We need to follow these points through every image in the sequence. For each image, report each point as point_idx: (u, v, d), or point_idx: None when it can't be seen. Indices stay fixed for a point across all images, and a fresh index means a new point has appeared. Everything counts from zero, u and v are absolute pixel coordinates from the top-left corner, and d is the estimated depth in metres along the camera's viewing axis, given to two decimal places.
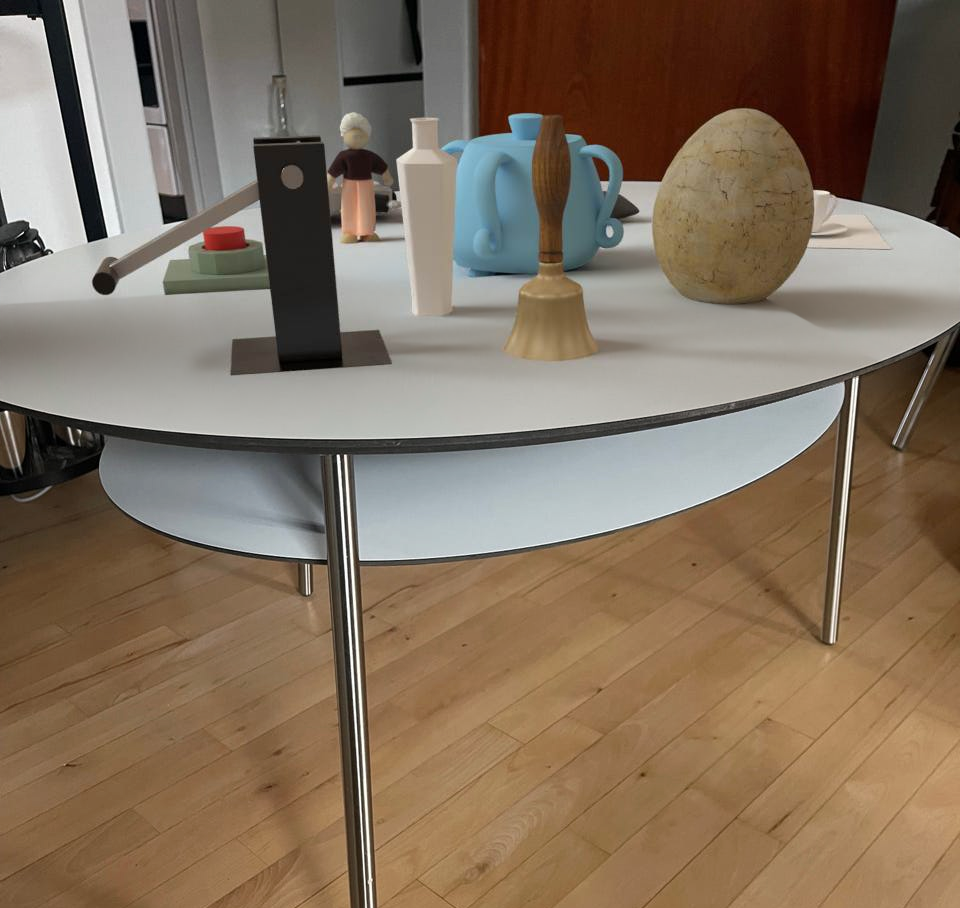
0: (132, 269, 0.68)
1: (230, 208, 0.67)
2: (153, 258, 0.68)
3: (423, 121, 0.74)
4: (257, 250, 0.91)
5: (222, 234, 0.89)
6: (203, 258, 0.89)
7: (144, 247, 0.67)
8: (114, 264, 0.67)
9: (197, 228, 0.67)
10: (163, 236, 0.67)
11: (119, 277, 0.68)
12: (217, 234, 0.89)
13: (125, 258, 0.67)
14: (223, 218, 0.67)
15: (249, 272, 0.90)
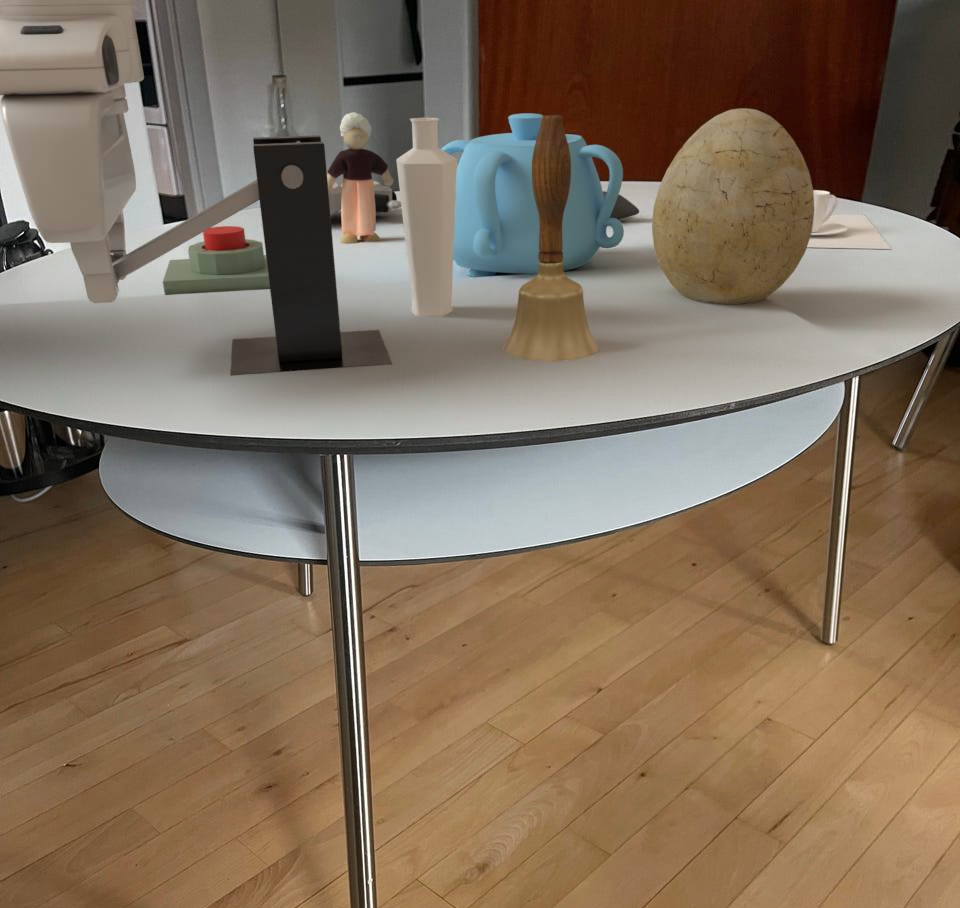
0: (132, 269, 0.68)
1: (230, 208, 0.67)
2: (153, 258, 0.68)
3: (423, 121, 0.74)
4: (257, 250, 0.91)
5: (222, 234, 0.89)
6: (203, 258, 0.89)
7: (144, 247, 0.67)
8: (114, 264, 0.67)
9: (197, 228, 0.67)
10: (163, 236, 0.67)
11: (119, 277, 0.68)
12: (217, 234, 0.89)
13: (125, 258, 0.67)
14: (223, 218, 0.67)
15: (249, 272, 0.90)
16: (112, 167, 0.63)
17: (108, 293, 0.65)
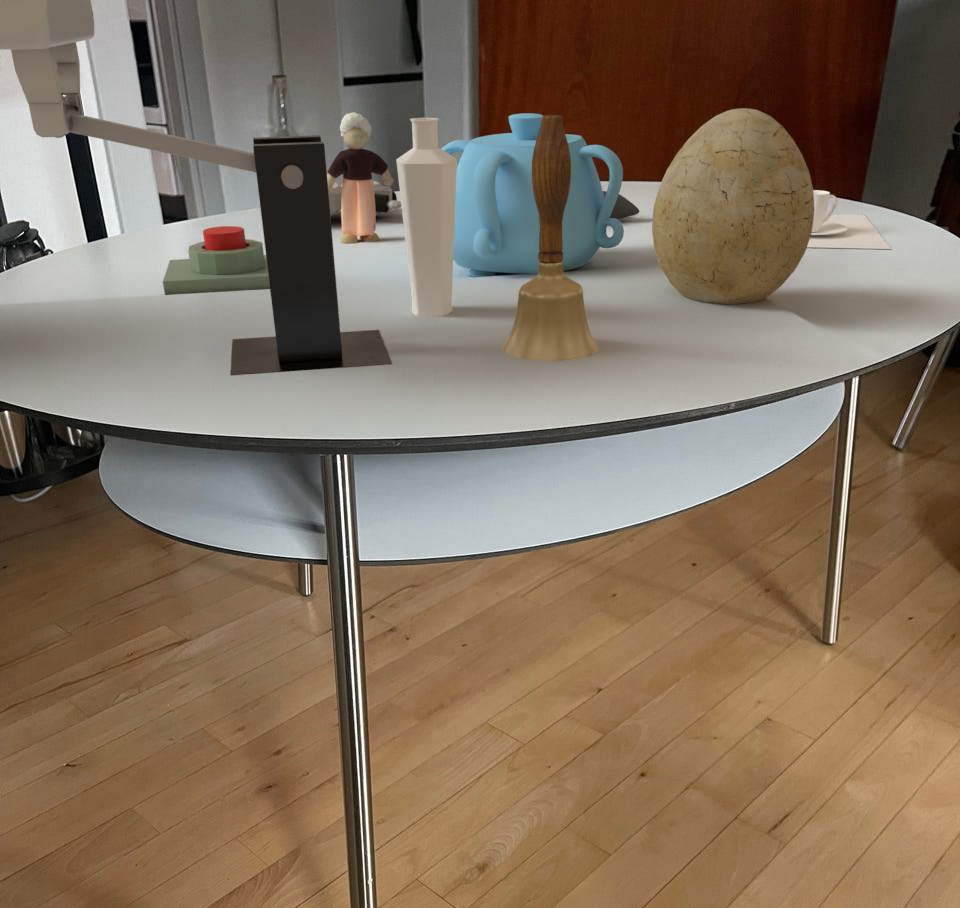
0: (90, 133, 0.63)
1: (217, 157, 0.65)
2: (116, 140, 0.64)
3: (423, 121, 0.74)
4: (257, 250, 0.91)
5: (222, 234, 0.89)
6: (203, 258, 0.89)
7: (115, 125, 0.63)
8: (76, 116, 0.63)
9: (176, 149, 0.65)
10: (140, 131, 0.64)
11: (72, 130, 0.63)
12: (217, 234, 0.89)
13: (90, 120, 0.63)
14: (205, 160, 0.65)
15: (249, 272, 0.90)
16: None
17: (56, 126, 0.60)
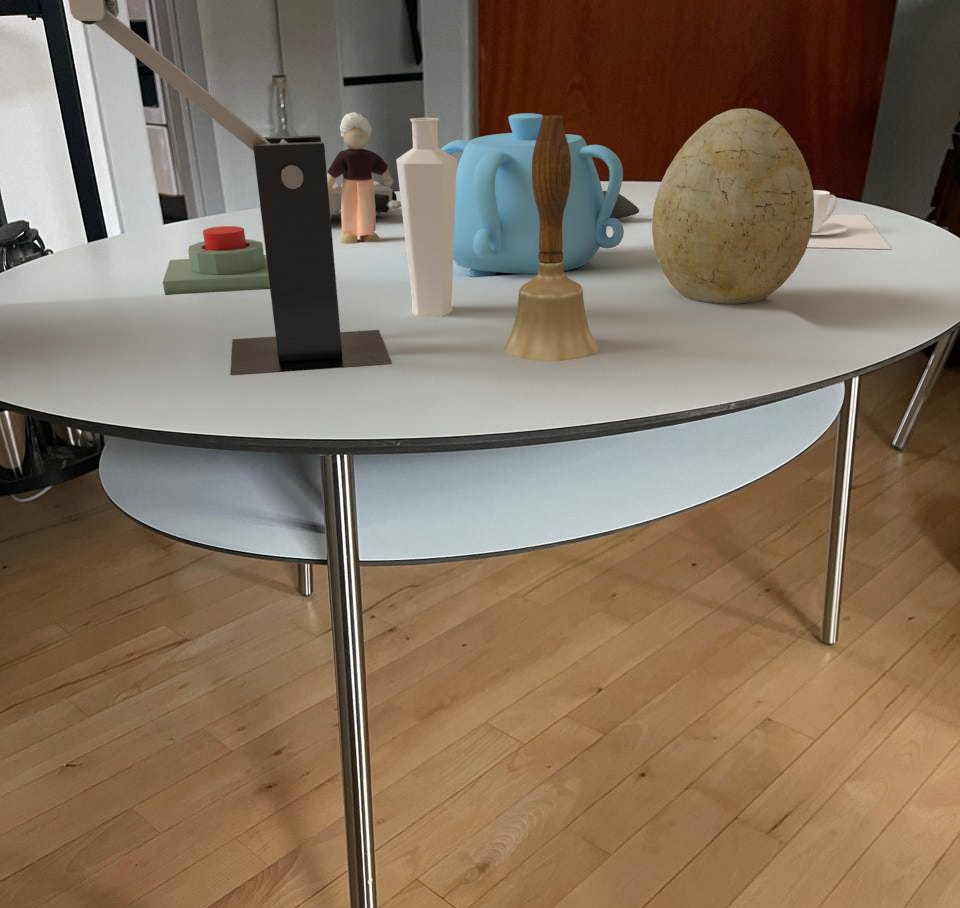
0: (114, 36, 0.61)
1: (228, 123, 0.64)
2: (138, 56, 0.62)
3: (423, 121, 0.74)
4: (257, 250, 0.91)
5: (222, 234, 0.89)
6: (203, 258, 0.89)
7: (143, 43, 0.61)
8: (108, 14, 0.60)
9: (192, 95, 0.63)
10: (165, 60, 0.62)
11: (98, 24, 0.60)
12: (217, 234, 0.89)
13: (121, 25, 0.61)
14: (215, 119, 0.64)
15: (249, 272, 0.90)
16: None
17: (94, 9, 0.57)
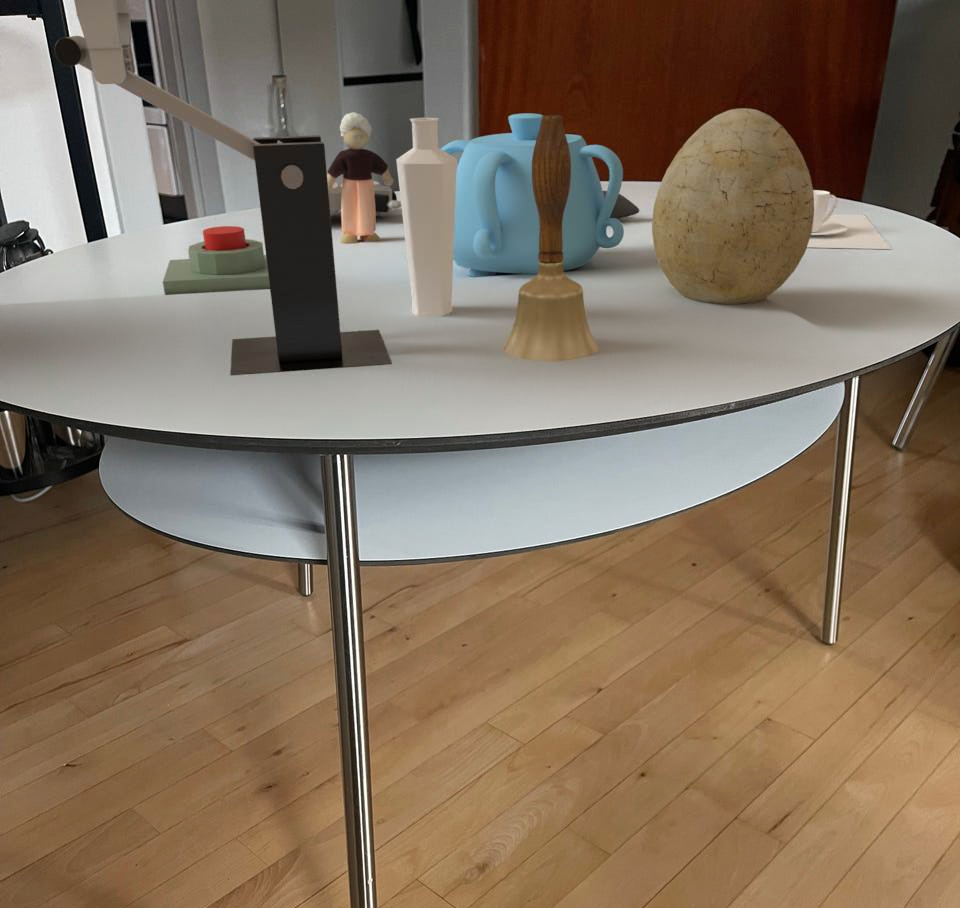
0: None
1: (222, 135, 0.65)
2: (125, 87, 0.62)
3: (423, 121, 0.74)
4: (257, 250, 0.91)
5: (222, 234, 0.89)
6: (203, 258, 0.89)
7: (128, 73, 0.62)
8: None
9: (183, 115, 0.64)
10: (151, 86, 0.63)
11: (82, 63, 0.61)
12: (217, 234, 0.89)
13: None
14: (209, 134, 0.64)
15: (249, 272, 0.90)
16: None
17: (116, 73, 0.60)
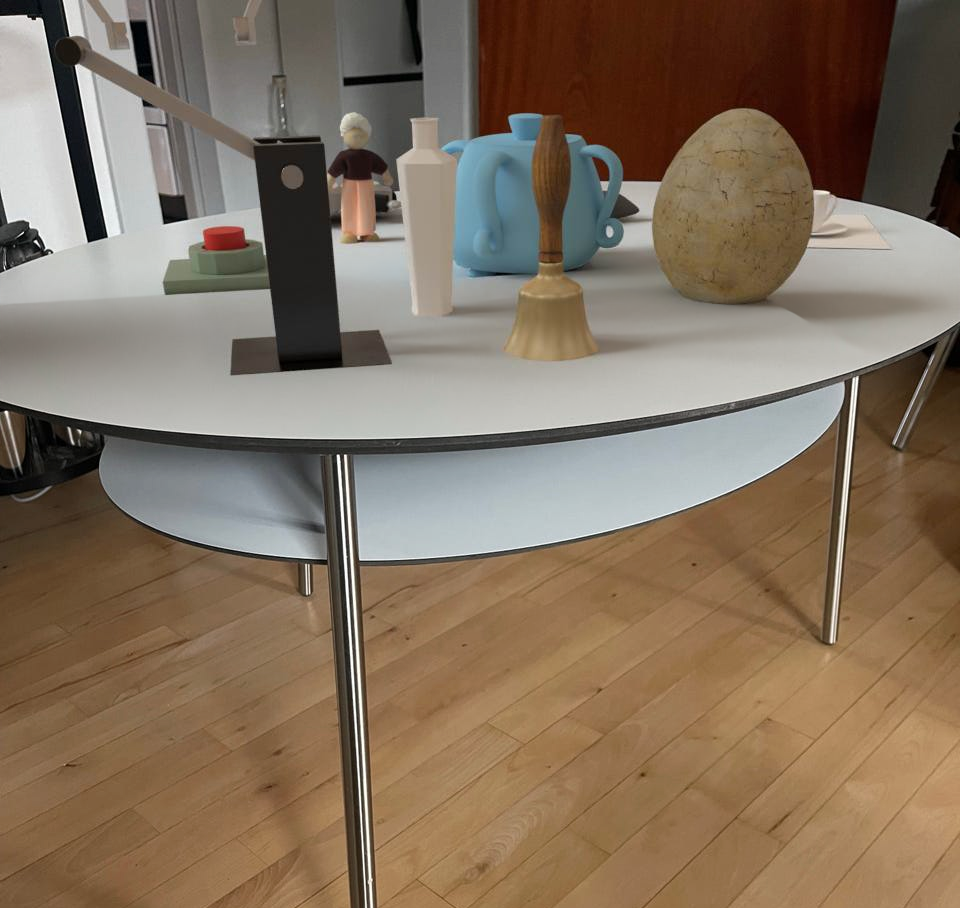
0: (99, 72, 0.62)
1: (222, 135, 0.65)
2: (125, 87, 0.62)
3: (423, 121, 0.74)
4: (257, 250, 0.91)
5: (222, 234, 0.89)
6: (203, 258, 0.89)
7: (128, 73, 0.62)
8: (90, 51, 0.61)
9: (183, 115, 0.64)
10: (151, 86, 0.63)
11: (82, 63, 0.61)
12: (217, 234, 0.89)
13: (104, 59, 0.61)
14: (209, 134, 0.64)
15: (249, 272, 0.90)
16: None
17: (108, 41, 0.76)
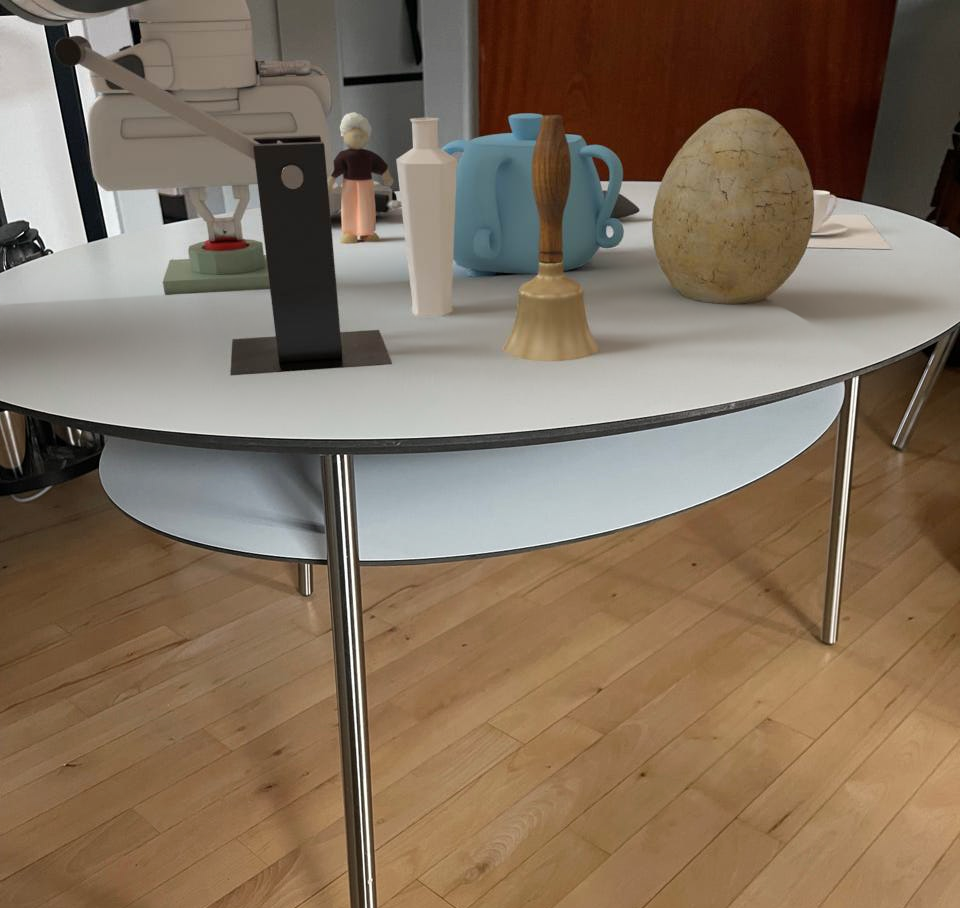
0: (99, 72, 0.62)
1: (222, 135, 0.65)
2: (125, 87, 0.62)
3: (423, 121, 0.74)
4: (257, 250, 0.91)
5: (224, 245, 0.90)
6: (203, 258, 0.89)
7: (128, 73, 0.62)
8: (90, 51, 0.61)
9: (183, 115, 0.64)
10: (151, 86, 0.63)
11: (82, 63, 0.61)
12: (219, 245, 0.90)
13: (104, 59, 0.61)
14: (209, 134, 0.64)
15: (249, 272, 0.90)
16: (192, 150, 0.86)
17: None
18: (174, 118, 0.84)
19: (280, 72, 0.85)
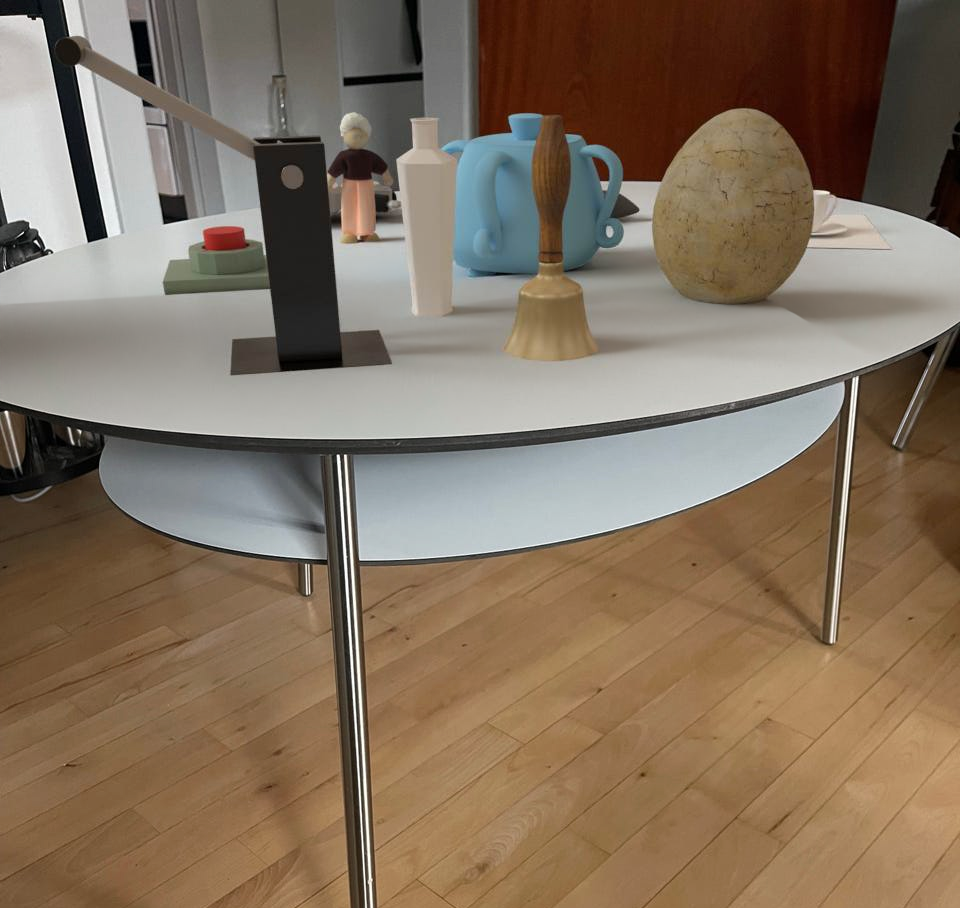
0: (99, 72, 0.62)
1: (222, 135, 0.65)
2: (125, 87, 0.62)
3: (423, 121, 0.74)
4: (257, 250, 0.91)
5: (222, 234, 0.89)
6: (203, 258, 0.89)
7: (128, 73, 0.62)
8: (90, 51, 0.61)
9: (183, 115, 0.64)
10: (151, 86, 0.63)
11: (82, 63, 0.61)
12: (217, 234, 0.89)
13: (104, 59, 0.61)
14: (209, 134, 0.64)
15: (249, 272, 0.90)
16: None
17: None
18: None
19: None
